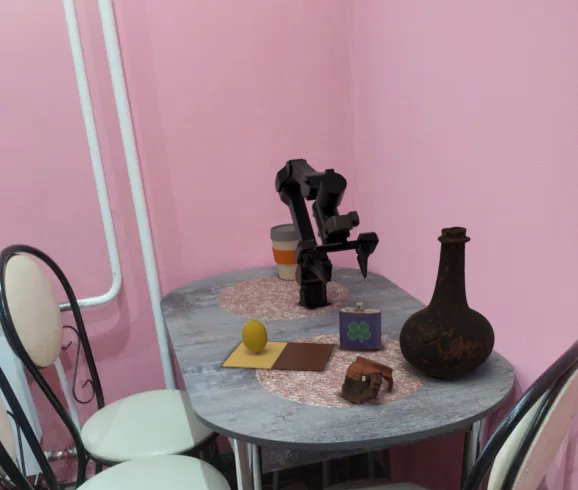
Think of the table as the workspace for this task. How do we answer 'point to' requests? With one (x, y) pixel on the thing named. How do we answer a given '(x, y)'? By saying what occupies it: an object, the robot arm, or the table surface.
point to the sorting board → (282, 356)
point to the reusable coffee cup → (284, 249)
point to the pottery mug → (371, 385)
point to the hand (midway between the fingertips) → (346, 280)
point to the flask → (360, 329)
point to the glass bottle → (448, 320)
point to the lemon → (254, 336)
